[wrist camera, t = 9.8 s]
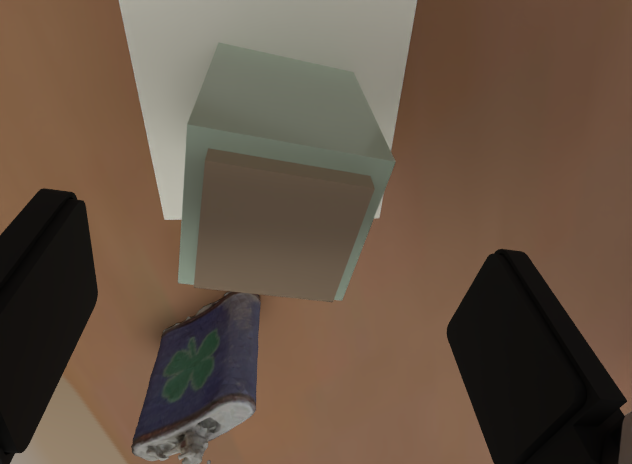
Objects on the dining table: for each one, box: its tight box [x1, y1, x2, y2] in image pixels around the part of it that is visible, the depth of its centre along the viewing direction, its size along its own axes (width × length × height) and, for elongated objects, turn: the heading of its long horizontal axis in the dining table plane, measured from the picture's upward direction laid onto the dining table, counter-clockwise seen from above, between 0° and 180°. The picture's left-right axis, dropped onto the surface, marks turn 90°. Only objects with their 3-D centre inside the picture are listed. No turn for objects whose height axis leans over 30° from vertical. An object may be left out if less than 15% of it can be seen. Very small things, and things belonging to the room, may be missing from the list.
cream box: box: [119, 0, 417, 220], centre depth 19 cm, size 10×10×6 cm
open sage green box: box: [178, 43, 395, 302], centre depth 14 cm, size 5×5×8 cm
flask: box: [131, 291, 261, 464], centre depth 28 cm, size 9×3×11 cm, turn 124°
